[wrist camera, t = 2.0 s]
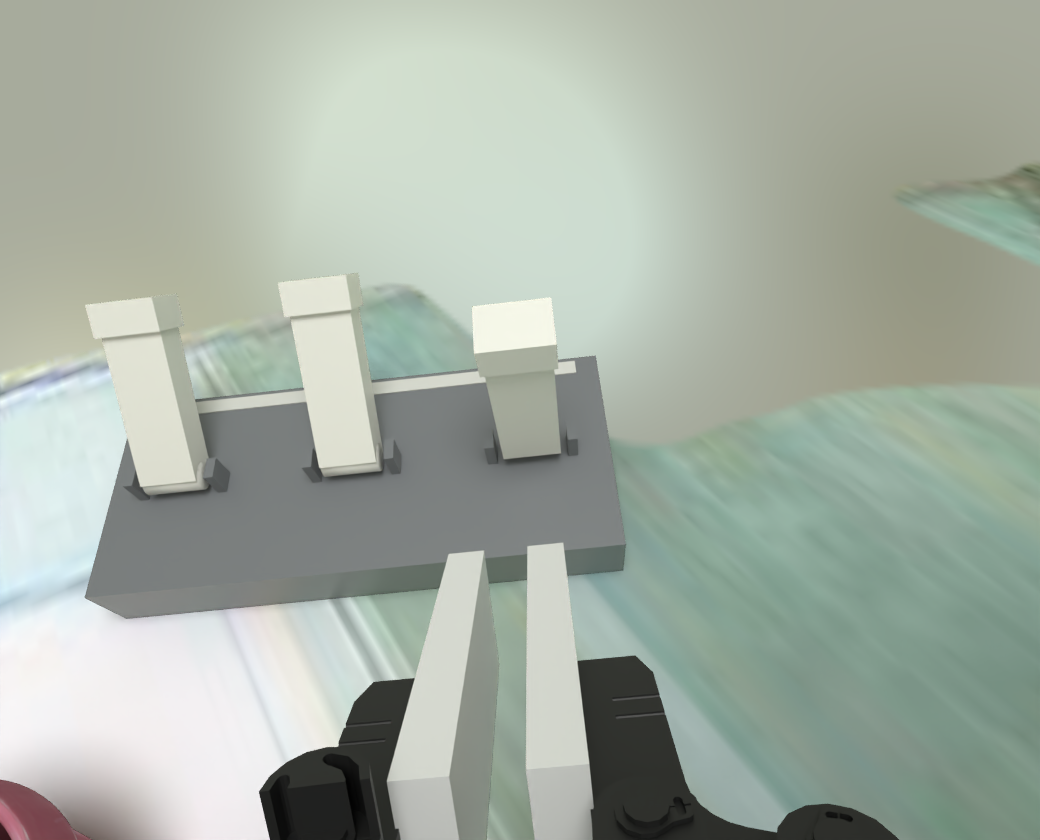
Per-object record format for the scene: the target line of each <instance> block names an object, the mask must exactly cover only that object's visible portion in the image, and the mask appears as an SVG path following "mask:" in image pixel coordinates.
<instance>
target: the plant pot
mask: <svg viewBox="0 0 1040 840" xmlns="http://www.w3.org/2000/svg"><path fill="white" fill-rule="evenodd" d="M0 840H92V839H90V838H88V837H87V836H85V835H83V834H81V833H79V832H77V831H76V830H74V829H72V828H71V826H70V824H69V823H68V821H67V820H66V818H65V817H64V816H63V815H62V813H61V812H60V811H59V810H58V809H57V808H56V807H55V806H54V805H53V804H52V803H51V802H50V801H48V800H47V799H46V798H44V797H43V796H41V795H40V794H38V793H37V792H35V791H33V790H31V789H29V788H27V787H25V786H22V785H20V784H17V783H13V782H9V781H5V780H0Z"/></svg>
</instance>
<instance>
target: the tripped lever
mask: <svg viewBox="0 0 1040 840" xmlns="http://www.w3.org/2000/svg"><path fill="white" fill-rule="evenodd" d="M472 315H473V339H474V355H475V359H476V364H477V368H478V372H479V376H480V377H485V380H486V384H487V389H488V393H489V397H490V402H491V406H492V410H493V415H494V419H495V424H496V428H497V432H498V437H499V441H500V445H501V450H502V454H503V459H511V458H521V457H530V456H540V455H549V454H559V453H561V447H560V434H559V422H558V409H557V397H556V384H555V372H554V369H558V356H557V343H556V335H555V327H554V318H553V310H552V302H551V298H542V299H533V300H524V301H516V302H506V303H498V304H490V305H481V306H472Z"/></svg>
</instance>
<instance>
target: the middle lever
mask: <svg viewBox="0 0 1040 840" xmlns="http://www.w3.org/2000/svg"><path fill="white" fill-rule="evenodd" d="M278 287H279V292H280V297H281V302H282V307H283V312H284V317H290V318H291V324H292V329H293V334H294V339H295V344H296V350H297V355H298V360H299V365H300V370H301V376H302V381H303V386H304V391H305V396H306V402H307V407H308V412H309V417H310V422H311V428H312V433H313V438H314V443H315V448H316V454H317V459H318V464H319V468H321V472H322V474H323V476H324V477H329V476H339V475H348V474H358V473H367V472H377V471H382V469H383V447H382V442H381V436H380V430H379V424H378V418H377V412H376V406H375V400H374V394H373V388H372V382H371V376H370V370H369V364H368V358H367V352H366V346H365V340H364V334H363V328H362V322H361V316H360V310H359V307H360V306H363V300H362V294H361V287H360V282H359V276H358V273H352V274H343V275H335V276H326V277H318V278H309V279H300V280H293V281H286V282H279V283H278Z"/></svg>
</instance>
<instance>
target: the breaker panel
mask: <svg viewBox="0 0 1040 840" xmlns="http://www.w3.org/2000/svg"><path fill="white" fill-rule="evenodd" d="M554 372H555V384H556V397H557V409H558V422H559V434H560V447H561V453H559V454H549V455H540V456H530V457H521V458H511V459H503V454H502V450H501V445H500V441H499V437H498V432H497V428H496V424H495V419H494V415H493V410H492V406H491V402H490V397H489V393H488V389H487V384H486V380H485V377H480V376H479V372H478V369H470V370H461V371H452V372H443V373H434V374H424V375H415V376H406V377H397V378H388V379H379V380H371V382H372V388H373V394H374V400H375V406H376V412H377V418H378V424H379V430H380V436H381V442H382V447H383V469H382V471H377V472H367V473H358V474H348V475H339V476H329V477H324V476H323V474H322V472H321V468H319V464H318V459H317V454H316V448H315V443H314V438H313V433H312V428H311V422H310V417H309V412H308V407H307V402H306V396H305V391H304V388H297V389H288V390H278V391H269V392H260V393H251V394H242V395H233V396H224V397H215V398H206V399H196V400H195V402H196V406H197V410H198V415H199V419H200V423H201V428H202V432H203V436H204V440H205V445H206V449H207V453H208V459H207V460H206V465H205V470H204V475H203V479H204V480H205V481H207V482H208V483H209V484H210V485H209V487H208V488H207V489H205V490H195V491H186V492H176V493H167V494H157V495H148V494H146V493H145V492H144V490H143V488H142V487H140V484H139V480H138V476H137V472H136V469H135V465H134V461H133V457H132V453H131V449H130V446H129V442H128V438H127V441H126V445H125V449H124V453H123V456H122V460H121V464H120V468H119V471H118V475H117V479H116V483H115V486H114V490H113V494H112V497H111V501H110V505H109V509H108V512H107V516H106V520H105V524H104V527H103V531H102V535H101V539H100V542H99V546H98V550H97V554H96V557H95V561H94V565H93V569H92V572H91V576H90V580H89V584H88V587H87V591H86V595H85V598H86V599H88V600H90V601H92V602H94V603H96V604H98V605H100V606H102V607H104V608H106V609H108V610H110V611H112V612H114V613H116V614H118V615H120V616H122V617H124V618H126V619H128V618H138V617H149V616H159V615H169V614H179V613H190V612H200V611H210V610H220V609H231V608H241V607H251V606H261V605H272V604H282V603H292V602H302V601H313V600H323V599H333V598H343V597H354V596H364V595H374V594H384V593H395V592H405V591H415V590H425V589H436V588H440V584H441V580H442V577H443V573H444V569H445V566H446V562H447V558H448V555H449V554H453V553H463V552H473V551H483V550H484V553H485V561H486V568H487V576H488V583H497V582H507V581H518V580H527V546H534V545H544V544H554V543H563V545H564V553H565V562H566V570H567V576H569V575H579V574H589V573H600V572H610V571H620V570H623V565H624V556H625V547H626V543H625V537H624V530H623V524H622V518H621V512H620V505H619V499H618V493H617V487H616V480H615V474H614V468H613V461H612V455H611V449H610V443H609V436H608V430H607V425H606V418H605V412H604V405H603V399H602V393H601V386H600V380H599V374H598V368H597V361H596V356H589V357H579V358H570V359H562V360H558V369H554Z"/></svg>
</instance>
